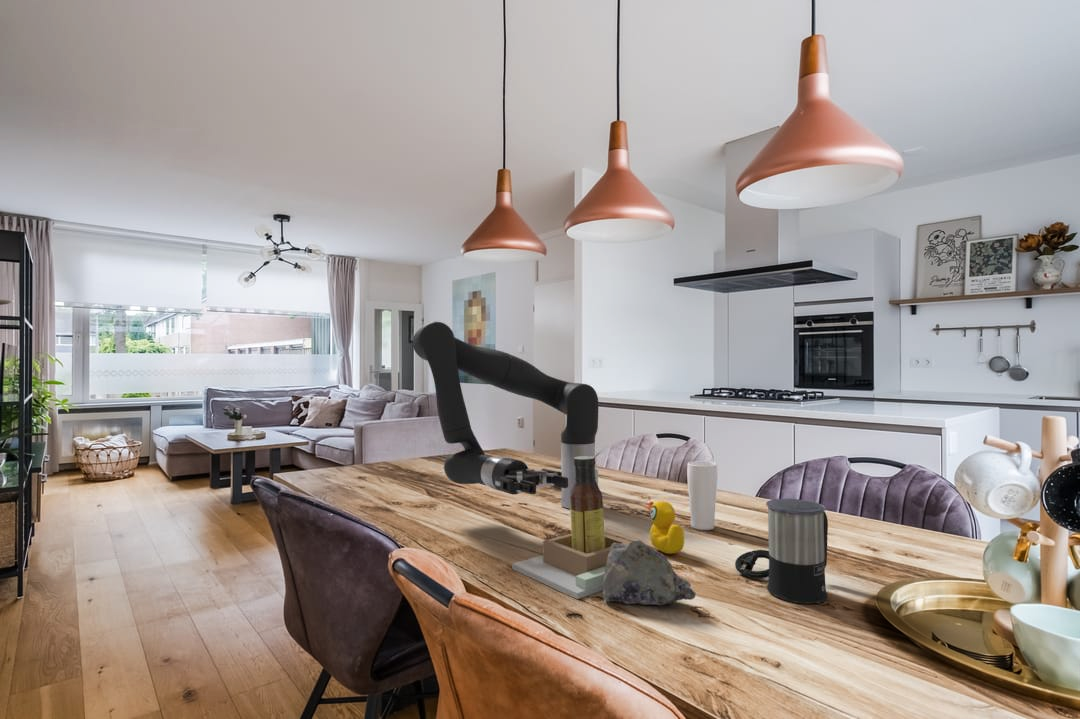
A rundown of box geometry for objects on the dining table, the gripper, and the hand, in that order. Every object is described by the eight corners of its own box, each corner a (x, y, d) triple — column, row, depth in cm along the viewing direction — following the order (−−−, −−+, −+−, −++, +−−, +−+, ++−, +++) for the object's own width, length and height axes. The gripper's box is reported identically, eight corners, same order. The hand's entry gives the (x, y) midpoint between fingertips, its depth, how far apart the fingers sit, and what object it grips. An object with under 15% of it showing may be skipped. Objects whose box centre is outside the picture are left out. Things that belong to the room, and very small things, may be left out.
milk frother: (823, 610, 88) (822, 514, 88) (720, 589, 96) (720, 502, 97) (833, 580, 100) (832, 496, 100) (740, 564, 108) (740, 486, 109)
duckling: (639, 544, 121) (638, 497, 121) (661, 541, 123) (661, 495, 123) (667, 561, 110) (667, 510, 110) (691, 558, 112) (691, 507, 112)
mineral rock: (699, 609, 89) (699, 544, 89) (653, 628, 82) (652, 559, 82) (638, 583, 99) (638, 526, 99) (593, 599, 93) (592, 538, 93)
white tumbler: (685, 530, 131) (685, 465, 131) (689, 522, 137) (689, 460, 137) (716, 533, 128) (715, 466, 128) (719, 525, 134) (718, 462, 135)
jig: (595, 545, 120) (595, 521, 120) (663, 568, 106) (663, 541, 106) (512, 569, 107) (512, 542, 107) (577, 599, 93) (577, 568, 93)
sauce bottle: (608, 559, 109) (607, 455, 109) (601, 570, 103) (600, 460, 103) (575, 555, 111) (574, 453, 111) (566, 566, 105) (565, 458, 105)
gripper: (477, 461, 123) (523, 471, 111) (529, 454, 132) (576, 463, 120) (478, 495, 123) (523, 510, 111) (529, 486, 132) (577, 499, 120)
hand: (551, 485), depth 115 cm, fingers open, 8 cm apart
